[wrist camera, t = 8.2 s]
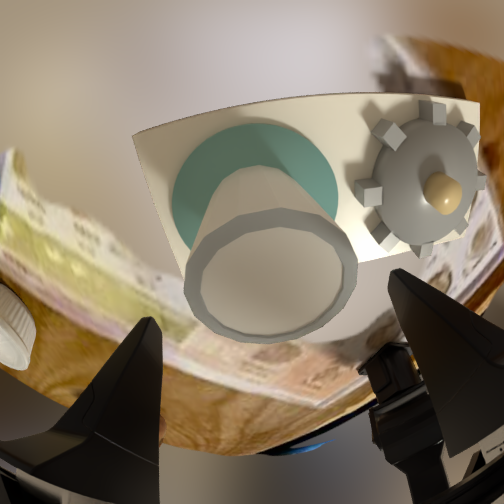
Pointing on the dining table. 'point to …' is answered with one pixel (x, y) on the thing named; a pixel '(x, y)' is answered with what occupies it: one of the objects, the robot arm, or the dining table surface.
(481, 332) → the robot arm
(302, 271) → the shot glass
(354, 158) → the gear board
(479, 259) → the dining table surface
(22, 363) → the ramekin
